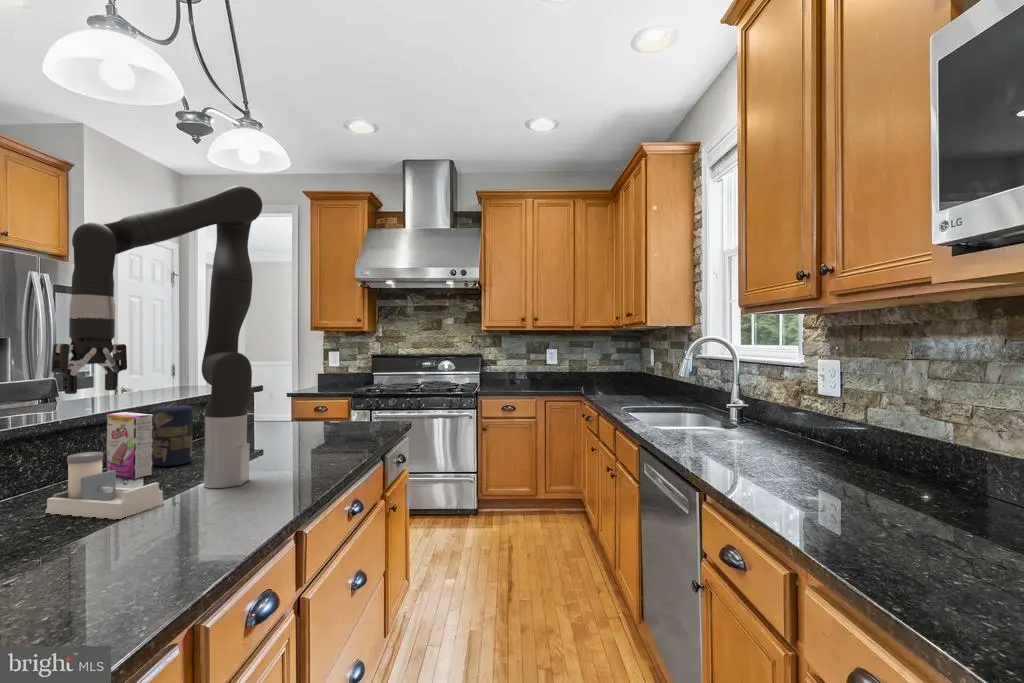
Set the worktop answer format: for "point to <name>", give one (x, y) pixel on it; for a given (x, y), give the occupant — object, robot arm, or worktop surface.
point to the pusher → (99, 486)
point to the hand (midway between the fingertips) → (91, 392)
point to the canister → (172, 435)
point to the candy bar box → (130, 444)
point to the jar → (82, 470)
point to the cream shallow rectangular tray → (108, 503)
